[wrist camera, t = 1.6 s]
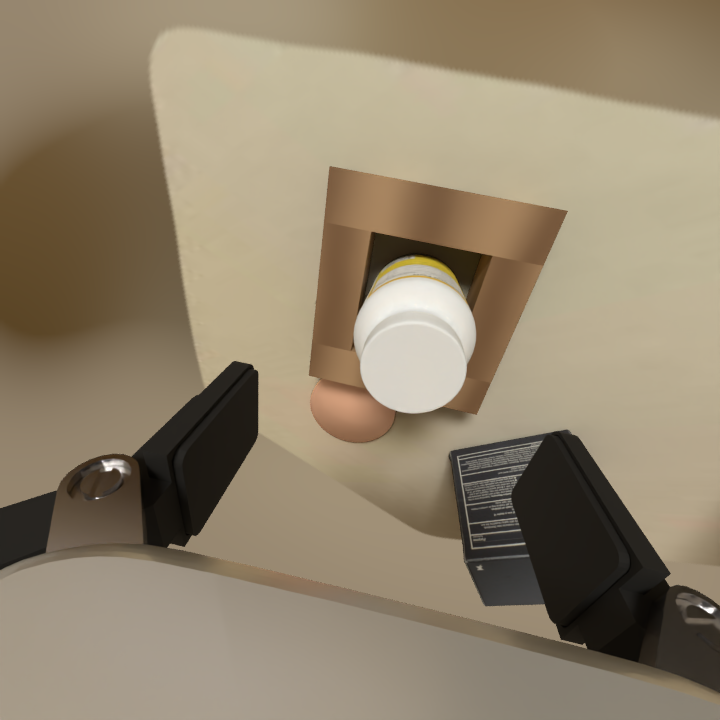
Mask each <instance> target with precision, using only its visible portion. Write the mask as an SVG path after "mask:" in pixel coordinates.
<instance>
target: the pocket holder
mask: <svg viewBox="0 0 720 720" xmlns="http://www.w3.org/2000/svg"><path fill="white" fill-rule="evenodd" d="M567 212H568V211H565V210H560V209H554V208H549V207H544V206H538V205H533V204H528V203H522V202H517V201H512V200H507V199H501V198H496V197H491V196H485V195H480V194H475V193H469V192H464V191H459V190H453V189H448V188H443V187H437V186H432V185H427V184H421V183H416V182H411V181H406V180H400V179H395V178H390V177H384V176H379V175H374V174H368V173H363V172H358V171H352V170H347V169H342V168H336V167H331V166H330V168H329V178H328V188H327V198H326V208H325V218H324V229H323V239H322V249H321V259H320V269H319V279H318V289H317V299H316V309H315V319H314V329H313V340H312V350H311V360H310V370H309V376H313V377H317V378H322V379H326V380H330V381H335V382H339V383H343V384H347V385H352V386H356V387H360V388H365V389H367V388H366V387H365V385H364V383H363V380H362V377H361V373H360V360H359V358H358V356H357V354H356V350H355V346H354V326H355V322H356V319H357V316H358V313H359V311H360V309H361V308H362V306H363V302H364V296H365V291H366V285H367V279H368V274H369V268H370V262H371V257H372V251H373V245H374V240H375V234H376V233H381V234H386V235H391V236H396V237H401V238H406V239H411V240H416V241H421V242H426V243H431V244H436V245H441V246H446V247H451V248H456V249H461V250H466V251H471V252H476V253H481V254H482V255H481V258H480V261H479V263H478V266H477V269H476V272H475V275H474V278H473V281H472V284H471V287H470V289H469V292H468V295H467V298H466V301H467V303H468V305H469V308H470V310H471V312H472V315H473V318H474V321H475V326H476V343H475V347H474V351H473V354H472V356H471V359H470V360H469V362H468V364H467V372H466V377H465V381H464V383H463V386H462V388H461V389H460V391H459V392H458V394H457V395H456V396H455V397H454V398H453V399H452V400H451V401H450V402H448V403H447V404H445V405H444V406H442V407H446V408H450V409H455V410H459V411H463V412H468V413H472V414H476V415H477V413H478V410H479V408H480V406H481V404H482V401H483V399H484V397H485V395H486V392H487V390H488V388H489V386H490V384H491V381H492V379H493V377H494V375H495V372H496V370H497V368H498V366H499V363H500V361H501V359H502V357H503V355H504V352H505V350H506V348H507V346H508V343H509V341H510V339H511V337H512V334H513V332H514V330H515V328H516V326H517V323H518V321H519V319H520V317H521V314H522V312H523V310H524V308H525V305H526V303H527V301H528V299H529V296H530V294H531V292H532V290H533V288H534V285H535V283H536V281H537V279H538V276H539V274H540V272H541V270H542V267H543V265H544V263H545V261H546V259H547V256H548V254H549V252H550V250H551V247H552V245H553V243H554V241H555V238H556V236H557V234H558V232H559V229H560V227H561V225H562V223H563V221H564V218H565V216H566V214H567Z"/></svg>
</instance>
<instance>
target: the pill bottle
mask: <svg viewBox="0 0 720 720" xmlns="http://www.w3.org/2000/svg"><path fill="white" fill-rule="evenodd" d="M475 343H476V326H475V321H474V318H473V315H472V312H471V310H470V308H469V305H468V303H467V301H466V299H465V297H464V294H463V292H462V290H461V288H460V286H459V284H458V281H457V279H456V277H455V275H454V274H453V272H452V271H451V270H450V268H449V267H448V266H447V265H446V264H444V263H443V262H442V261H440V260H439V259H437V258H435V257H432V256H429V255H425V254H409V255H405V256H402V257H399V258H397V259H395V260H393V261H391V262H390V263H389V264H387V265H386V266H385V267H384V268H383V269H382V270H381V271H380V273H379V274H378V276H377V278H376V279H375V281H374V284H373V286H372V288H371V290H370V292H369V294H368V296H367V298H366V300H365V302H364V304H363V306H362V308H361V309H360V311H359V313H358V316H357V319H356V322H355V326H354V346H355V350H356V354H357V356H358V358H359V360H360V373H361V377H362V380H363V383H364V385H365V387H366V388H367V390H368V391H369V393H370V394H371V395H372V396H373V397H374V398H375V399H376V400H377V401H378V402H380V403H381V404H382V405H384V406H386V407H388V408H390V409H393V410H395V411H398V412H403V413H414V414H415V413H425V412H429V411H433V410H435V409H438V408H440V407H442V406H444V405H445V404H447V403H448V402H450V401H451V400H452V399H453V398H454V397H455V396H456V395H457V394H458V392H459V391H460V389H461V388H462V386H463V383H464V381H465V377H466V372H467V364H468V362H469V360H470V359H471V356H472V354H473V351H474V347H475Z"/></svg>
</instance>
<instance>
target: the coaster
mask: <svg viewBox="0 0 720 720" xmlns="http://www.w3.org/2000/svg"><path fill="white" fill-rule="evenodd" d="M310 405H311V411H312V414H313V416H314V418H315V420H316V421H317V423H318V424H319V425H320V426H321V427H322V428H323V429H324V430H325V431H326V432H328V433H329V434H331V435H332V436H334V437H336V438H339V439H341V440H345V441H349V442H367V441H372V440H375V439H377V438H379V437H381V436H382V435H384V434H385V433H386V432H387V431H388V430H389V429H390V427H391V426H392V424H393V421H394V418H395V410H393V409H390V408H388V407H386V406H384V405H382V404H381V403H380V402H378V401H377V400H376V399H375V398H374V397H373V396H372V395H371V394H370V393H369V391H368V390H367V389H365V388H360V387H356V386H352V385H347V384H343V383H339V382H335V381H330V380H326V379H322V378H321V379H320V380H319V382H318V383H317V384H316V386H315V388H314V390H313V392H312V395H311V399H310Z"/></svg>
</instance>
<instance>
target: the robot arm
mask: <svg viewBox="0 0 720 720" xmlns="http://www.w3.org/2000/svg"><path fill="white" fill-rule="evenodd" d="M257 436H258V371H257V370H254V368H253V365H251V364H246V363H242V362H237V361H234V362H232V363H231V364H230V365H229V366H228V367H227V368H226V369H225V370H224V371H223V372H222V373H221V374H220V375H219V376H218V377H217V378H216V379H215V380H214V381H213V382H212V383H211V384H210V385H209V386H208V387H207V388H206V389H204V390H203V392H202V393H201V394H199V395H196V396H195V397H193V398H192V399H191V400H190V401H189V402H188V403H187V404H186V405H185V406H184V407H183V408H182V409H181V410H180V411H178V412H177V413H176V414H175V415H174V416H173V417H172V418H171V419H170V420H169V421H168V422H167V423H166V424H165V425H164V426H163V427H162V428H161V429H160V430H159V431H158V432H157V433H156V434H155V435H154V436H152V438H150V440H148V441H147V442H146V443H145V444H144V445H143V446H142V447H141V448H140V449H139V450H138V451H137V452H136V453H135V454H134V455H133V456H132V457H131V456H128V455H124V454H109V455H102V456H99V457H96V458H93V459H90V460H88V461H86V462H84V463H82V464H80V465H78V466H77V467H75V468H74V469H73V470H71V471H70V472H69V473H68V474H67V475H66V476H65V477H64V478H63V480H62V481H61V482H60V485H59V487H58V489H57V491H54V492H50V493H47V494H44V495H41V496H38V497H35V498H31V499H28V500H25V501H22V502H19V503H16V504H13V505H9V506H7V507H3V508H0V720H720V606H719V605H718V604H717V603H715V602H714V601H713V600H711V599H710V598H708V597H706V596H705V595H703V594H701V593H700V592H698V591H696V590H693V589H691V588H689V587H687V586H680V585H675V586H672V587H670V586H669V585H668V583H667V582H666V580H665V578H666V577H667V576H669V575H670V572H669V571H668V569H667V568H666V566H665V564H664V563H663V562H662V560H661V559H660V557H659V556H658V554H657V553H656V551H655V550H654V548H653V547H652V545H651V544H650V542H649V541H648V539H647V538H646V536H645V535H644V533H643V532H642V530H641V529H640V528H639V526H638V525H637V523H636V522H635V520H634V519H633V517H632V516H631V514H630V513H629V511H628V510H627V508H626V507H625V505H624V504H623V502H622V501H621V499H620V498H619V496H618V495H617V494H616V492H615V491H614V489H613V488H612V486H611V485H610V483H609V482H608V480H607V479H606V477H605V476H604V474H603V473H602V471H601V470H600V468H599V467H598V465H597V464H596V462H595V461H594V460H593V458H592V457H591V455H590V454H589V452H588V451H587V449H586V448H585V446H584V445H583V443H582V442H581V440H580V439H579V438H578V437H577V436H575V435H571V434H567V433H562V432H558V431H556V432H553V433H552V434H551V435H546V436H545V438H544V439H543V441H542V443H541V444H540V446H539V447H538V449H537V451H536V452H535V454H534V456H533V457H532V459H531V460H530V462H529V464H528V465H527V467H526V469H525V470H524V472H523V473H522V475H521V477H520V478H519V480H518V482H517V483H516V485H515V486H514V488H513V490H512V493H511V501H512V504H513V507H514V510H515V514H516V517H517V520H518V523H519V526H520V529H521V532H522V535H523V538H524V541H525V544H526V547H527V551H528V554H529V557H530V560H531V563H532V566H533V569H534V572H535V575H536V578H537V581H538V585H539V588H540V591H541V594H542V597H543V600H544V603H545V606H546V609H547V612H548V615H549V618H550V619H551V621H552V622H553V623H555V624H556V626H557V629H558V632H559V635H560V638H561V640H565V641H569V642H573V643H578V644H582V645H583V644H584V643H585V644H586V646H587V649H585V648H582V647H578V646H574V645H570V644H566V643H563V642H559V641H555V640H550V639H547V638H543V637H538V636H534V635H531V634H527V633H523V632H519V631H515V630H511V629H507V628H503V627H499V626H495V625H491V624H487V623H483V622H479V621H475V620H471V619H467V618H463V617H459V616H455V615H451V614H447V613H443V612H439V611H435V610H431V609H426V608H423V607H419V606H415V605H410V604H407V603H402V602H399V601H394V600H390V599H386V598H382V597H378V596H374V595H370V594H366V593H361V592H358V591H354V590H350V589H346V588H341V587H337V586H333V585H329V584H325V583H321V582H317V581H312V580H308V579H304V578H300V577H296V576H292V575H287V574H283V573H279V572H275V571H271V570H266V569H262V568H258V567H254V566H250V565H246V564H241V563H237V562H232V561H227V560H223V559H219V558H214V557H209V556H205V555H200V554H196V553H191V552H186V551H182V550H176V549H170V548H167V547H168V546H169V544H170V543H171V544H175V545H179V546H183V547H185V545H186V544H187V542H188V541H189V539H190V537H191V536H192V535H194V536H196V535H198V534H199V533H200V531H201V530H202V528H203V527H204V525H205V523H206V521H207V520H208V518H209V517H210V515H211V514H212V512H213V510H214V509H215V507H216V505H217V504H218V502H219V500H220V499H221V497H222V496H223V494H224V492H225V491H226V489H227V487H228V486H229V484H230V482H231V481H232V479H233V478H234V476H235V474H236V473H237V471H238V469H239V468H240V466H241V464H242V463H243V461H244V460H245V458H246V456H247V455H248V453H249V451H250V450H251V448H252V447H253V445H254V443H255V441H256V439H257Z"/></svg>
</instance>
